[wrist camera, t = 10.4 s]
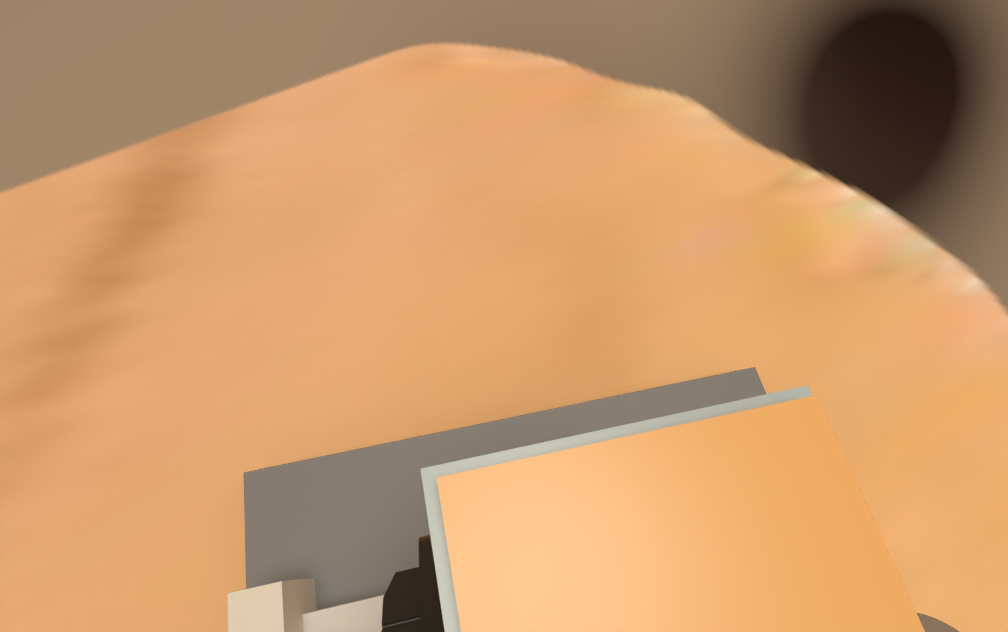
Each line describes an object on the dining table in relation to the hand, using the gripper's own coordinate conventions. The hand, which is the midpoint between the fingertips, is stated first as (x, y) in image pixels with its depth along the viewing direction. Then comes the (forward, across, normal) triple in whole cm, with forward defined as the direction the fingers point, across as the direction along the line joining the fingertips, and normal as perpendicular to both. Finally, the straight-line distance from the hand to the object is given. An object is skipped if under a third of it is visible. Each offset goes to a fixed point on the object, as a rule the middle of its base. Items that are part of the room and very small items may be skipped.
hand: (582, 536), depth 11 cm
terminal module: (+2, 0, +5) cm, 5 cm away
